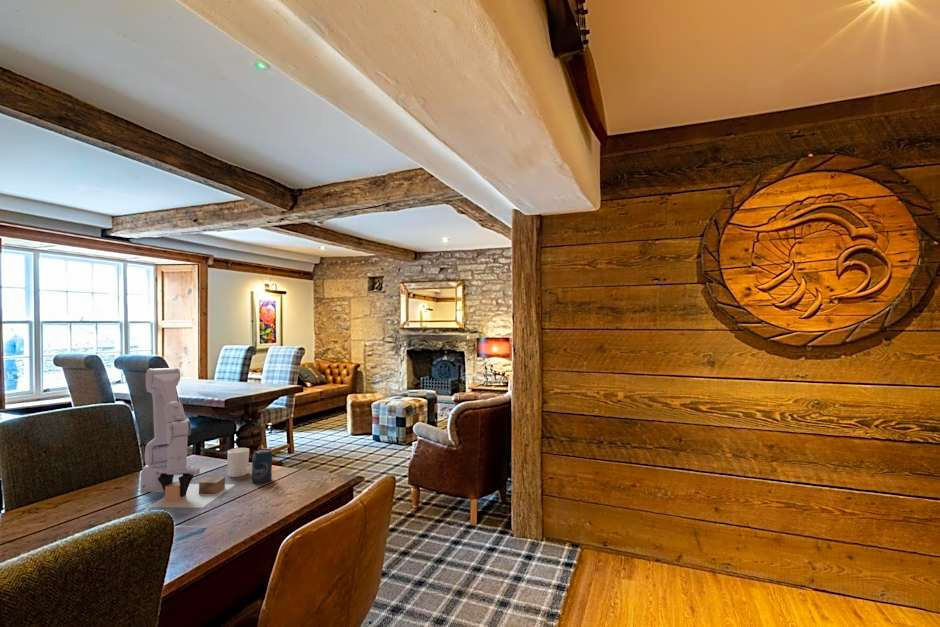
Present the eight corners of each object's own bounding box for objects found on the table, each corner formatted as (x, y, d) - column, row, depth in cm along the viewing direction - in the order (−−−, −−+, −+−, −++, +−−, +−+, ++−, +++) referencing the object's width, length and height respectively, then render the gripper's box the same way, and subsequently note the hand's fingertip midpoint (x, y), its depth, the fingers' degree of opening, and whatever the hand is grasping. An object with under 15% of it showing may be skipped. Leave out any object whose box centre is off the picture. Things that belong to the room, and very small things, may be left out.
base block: (198, 493, 159) (199, 482, 159) (208, 487, 165) (208, 476, 165) (215, 494, 159) (216, 482, 160) (224, 488, 165) (225, 477, 166)
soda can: (250, 486, 169) (251, 453, 170) (253, 480, 176) (254, 449, 176) (269, 484, 171) (270, 452, 172) (272, 478, 178) (273, 448, 178)
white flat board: (146, 508, 147) (146, 506, 147) (186, 485, 169) (186, 483, 169) (202, 509, 147) (202, 507, 147) (235, 485, 169) (235, 484, 169)
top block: (164, 501, 152) (165, 486, 152) (173, 496, 156) (173, 482, 156) (178, 501, 152) (178, 486, 152) (186, 496, 156) (186, 482, 157)
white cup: (252, 472, 185) (253, 448, 185) (240, 479, 177) (241, 453, 177) (234, 471, 186) (235, 447, 186) (222, 478, 178) (223, 452, 178)
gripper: (147, 458, 150) (146, 500, 150) (191, 459, 151) (190, 500, 150) (161, 453, 157) (159, 492, 157) (203, 453, 158) (202, 492, 157)
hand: (175, 495), depth 154 cm, fingers closed on top block, 4 cm apart
